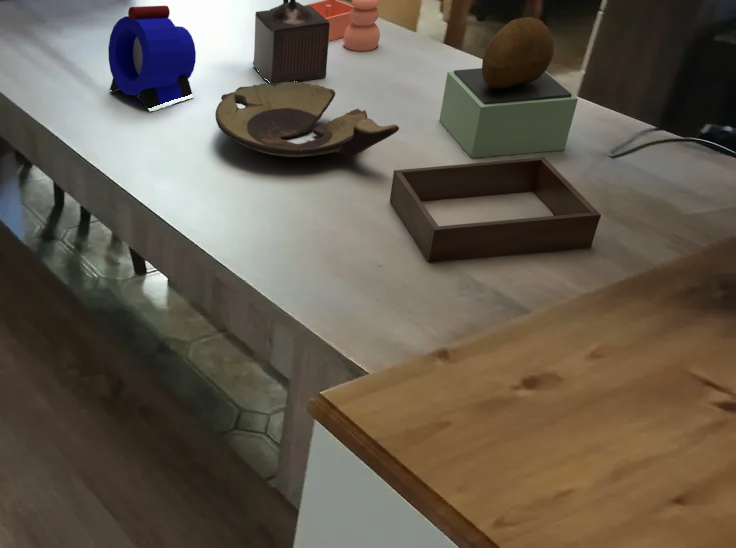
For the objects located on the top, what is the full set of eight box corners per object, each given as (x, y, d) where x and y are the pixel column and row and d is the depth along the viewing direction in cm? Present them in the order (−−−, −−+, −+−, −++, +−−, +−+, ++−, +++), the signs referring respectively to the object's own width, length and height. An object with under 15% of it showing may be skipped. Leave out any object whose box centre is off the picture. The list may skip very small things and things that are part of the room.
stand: (564, 150, 136) (579, 95, 131) (470, 158, 135) (481, 104, 130) (526, 113, 146) (538, 61, 141) (439, 120, 146) (448, 69, 141)
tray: (591, 247, 115) (601, 214, 112) (428, 262, 115) (434, 229, 112) (536, 187, 128) (544, 156, 125) (389, 201, 127) (393, 170, 124)
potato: (455, 81, 137) (466, 19, 131) (519, 65, 140) (532, 4, 134) (494, 100, 131) (507, 36, 125) (560, 83, 134) (576, 19, 128)
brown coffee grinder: (305, 57, 170) (312, -51, 158) (327, 78, 161) (336, -35, 149) (223, 68, 168) (225, -41, 156) (242, 89, 160) (244, -24, 148)
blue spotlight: (106, 93, 162) (99, 1, 152) (162, 75, 166) (160, -15, 156) (146, 113, 154) (142, 18, 144) (204, 94, 159) (204, 1, 149)
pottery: (292, 30, 181) (295, -24, 174) (330, 20, 184) (335, -34, 177) (351, 56, 169) (357, -2, 162) (391, 45, 172) (399, -12, 165)
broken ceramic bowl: (310, 102, 154) (314, 54, 149) (417, 172, 133) (426, 119, 128) (189, 129, 148) (188, 81, 143) (280, 207, 127) (283, 153, 122)
